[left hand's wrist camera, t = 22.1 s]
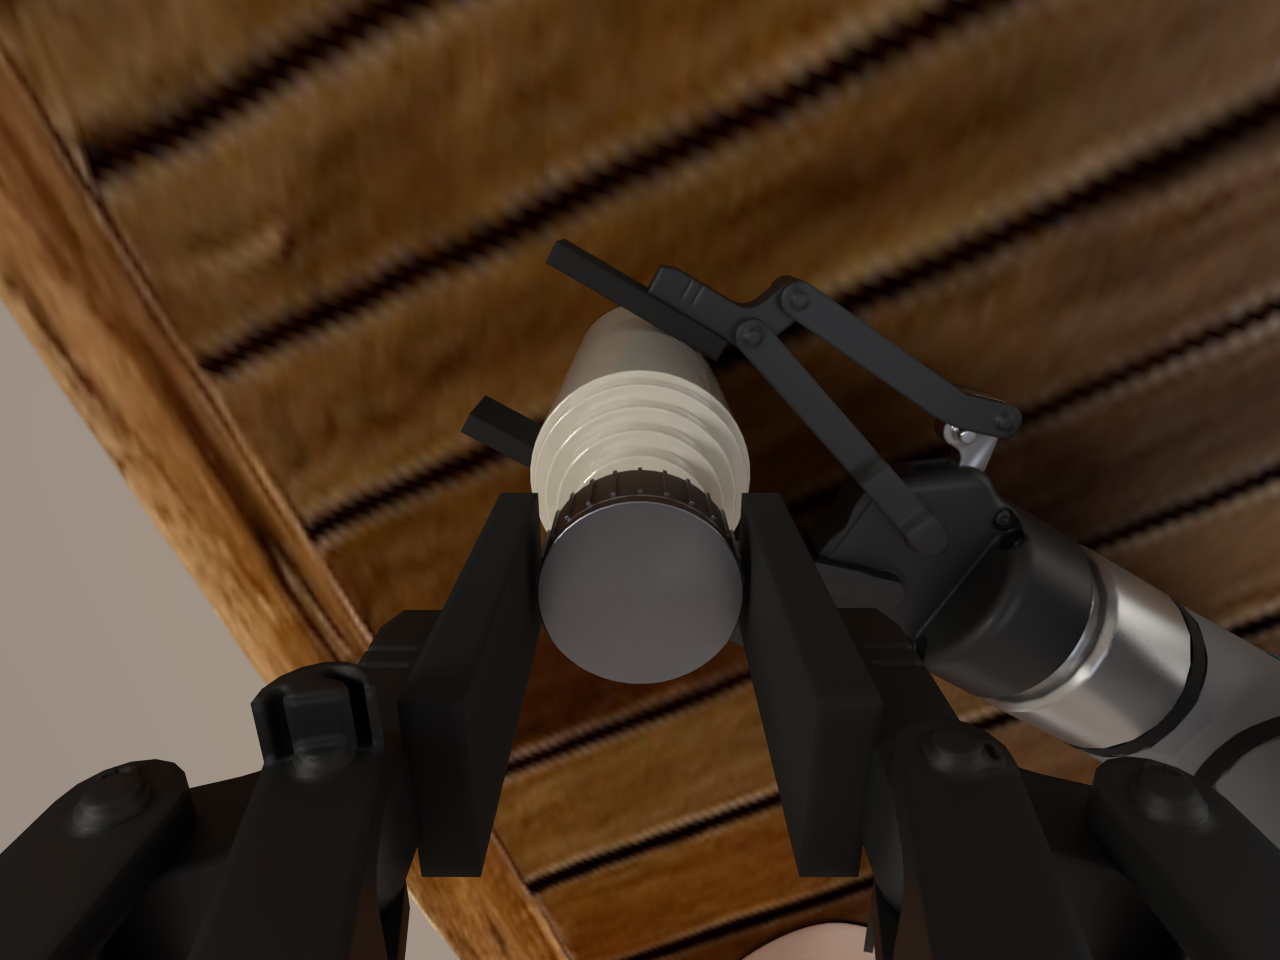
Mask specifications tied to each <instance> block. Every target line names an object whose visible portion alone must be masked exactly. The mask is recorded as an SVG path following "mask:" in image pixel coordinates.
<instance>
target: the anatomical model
mask: <svg viewBox="0 0 1280 960" xmlns="http://www.w3.org/2000/svg"><path fill="white" fill-rule="evenodd" d="M866 930H867V927H863V926H859V925H854V924H847V923H824V924H817V925H813V926H809V927H805V928H802V929H799V930H796V931H794V932H791V933H789V934H786V935H784V936H782V937H780V938H778V939H776V940H774V941H772V942H770V943H768V944H766V945H764V946H762V947H761V948H759V949H757V950H756V951H754V952H752V953H751V954H750V955H748V956H747V957H745V958H744V959H742V960H875V950H874V949H873V953H868V952H863V951H864V943H865V936H866Z"/></svg>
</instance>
